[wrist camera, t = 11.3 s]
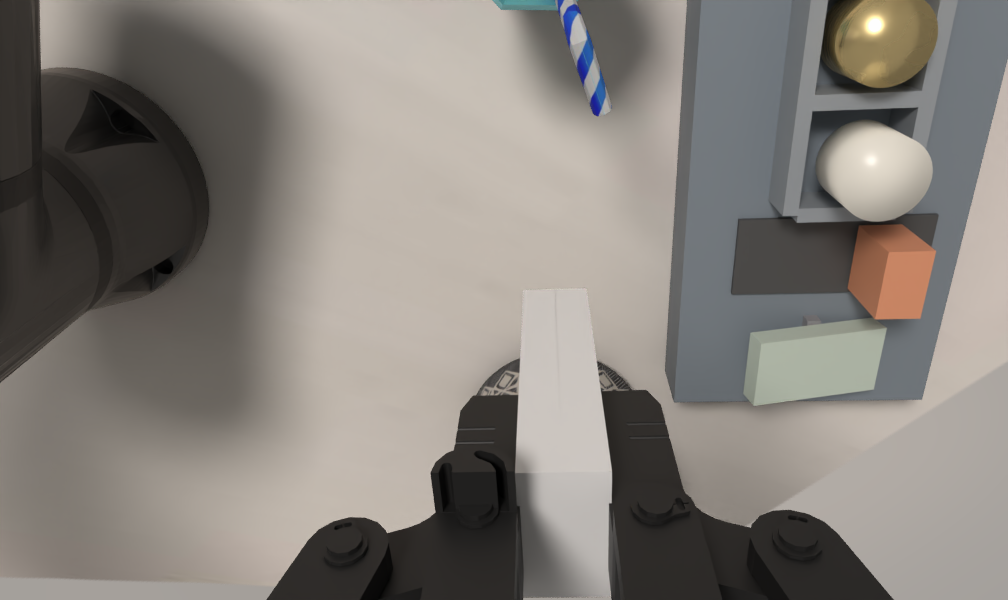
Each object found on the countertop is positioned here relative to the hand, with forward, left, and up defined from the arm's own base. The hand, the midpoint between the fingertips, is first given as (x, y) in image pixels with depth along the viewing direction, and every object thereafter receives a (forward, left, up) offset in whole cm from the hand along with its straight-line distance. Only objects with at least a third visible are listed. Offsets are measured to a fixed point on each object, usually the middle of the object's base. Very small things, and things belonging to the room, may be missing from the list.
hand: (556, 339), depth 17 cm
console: (+16, -5, -29) cm, 34 cm away
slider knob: (+19, -9, -25) cm, 32 cm away
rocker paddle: (+16, -15, -24) cm, 32 cm away
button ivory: (+16, -2, -22) cm, 27 cm away
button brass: (+16, +4, -24) cm, 29 cm away
